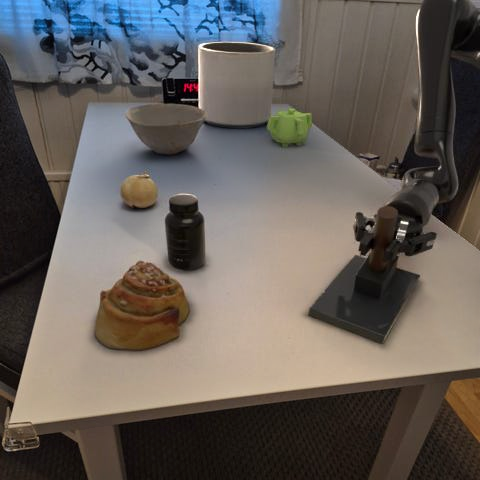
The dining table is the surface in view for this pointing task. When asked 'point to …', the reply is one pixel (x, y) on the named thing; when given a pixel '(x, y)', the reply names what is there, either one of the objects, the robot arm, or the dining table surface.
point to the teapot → (289, 126)
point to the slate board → (363, 302)
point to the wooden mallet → (378, 256)
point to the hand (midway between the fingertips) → (374, 253)
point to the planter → (236, 83)
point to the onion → (139, 191)
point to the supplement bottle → (185, 233)
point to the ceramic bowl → (166, 126)
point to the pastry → (141, 309)
